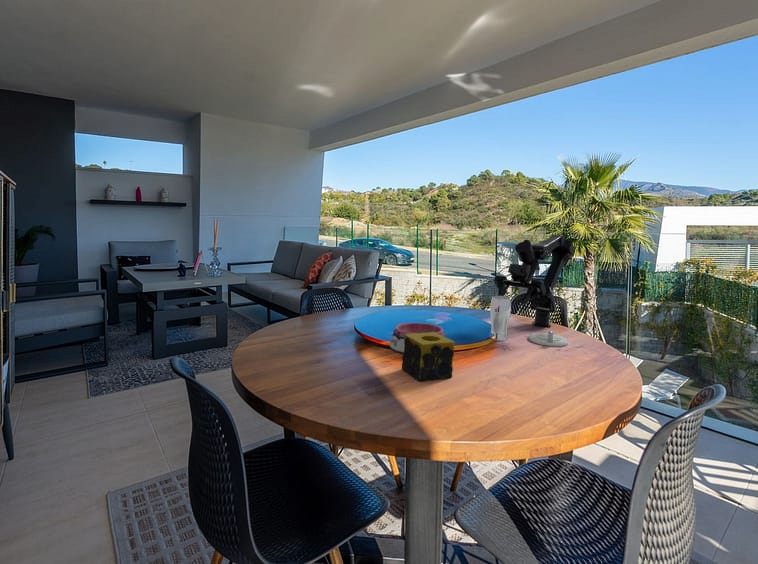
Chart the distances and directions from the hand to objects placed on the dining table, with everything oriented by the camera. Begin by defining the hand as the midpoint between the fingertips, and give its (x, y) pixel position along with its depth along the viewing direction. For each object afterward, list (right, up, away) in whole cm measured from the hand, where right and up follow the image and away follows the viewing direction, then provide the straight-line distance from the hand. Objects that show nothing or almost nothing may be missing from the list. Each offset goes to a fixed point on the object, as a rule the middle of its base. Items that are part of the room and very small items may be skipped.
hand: (509, 302), depth 151 cm
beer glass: (-5, -13, -2) cm, 14 cm away
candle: (-35, -17, -40) cm, 56 cm away
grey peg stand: (+13, -14, -3) cm, 19 cm away
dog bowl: (-35, -14, -17) cm, 41 cm away
